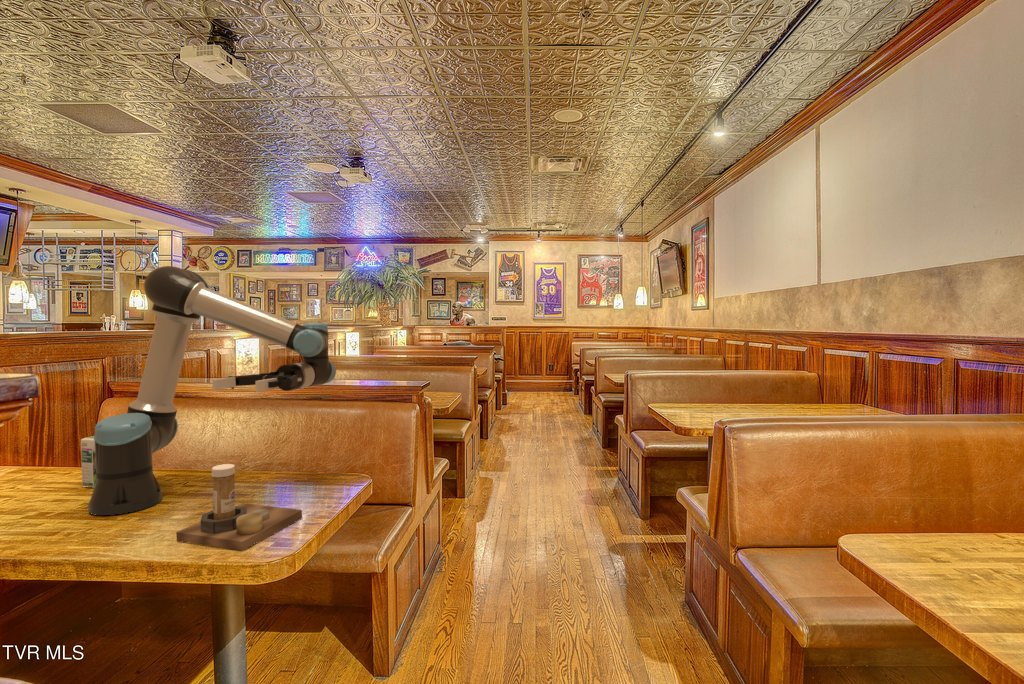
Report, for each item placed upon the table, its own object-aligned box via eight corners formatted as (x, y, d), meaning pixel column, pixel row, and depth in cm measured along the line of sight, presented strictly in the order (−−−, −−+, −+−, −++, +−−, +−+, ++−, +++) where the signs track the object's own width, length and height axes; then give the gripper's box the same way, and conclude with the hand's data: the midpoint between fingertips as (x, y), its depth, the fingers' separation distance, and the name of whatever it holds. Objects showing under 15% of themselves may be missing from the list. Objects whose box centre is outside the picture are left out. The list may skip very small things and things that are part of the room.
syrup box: (81, 488, 144) (78, 438, 144) (102, 481, 150) (100, 434, 150) (96, 489, 143) (94, 439, 142) (116, 482, 149) (114, 435, 148)
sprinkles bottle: (232, 527, 110) (231, 468, 110) (209, 529, 109) (208, 469, 109) (238, 519, 115) (237, 462, 114) (217, 521, 114) (215, 463, 113)
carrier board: (176, 541, 108) (175, 518, 108) (242, 510, 125) (242, 491, 125) (242, 551, 103) (241, 527, 103) (302, 518, 120) (301, 497, 120)
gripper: (330, 390, 141) (276, 402, 121) (259, 388, 148) (196, 398, 128) (330, 364, 141) (275, 371, 121) (259, 363, 148) (195, 369, 128)
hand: (234, 385), depth 124 cm, fingers open, 13 cm apart
